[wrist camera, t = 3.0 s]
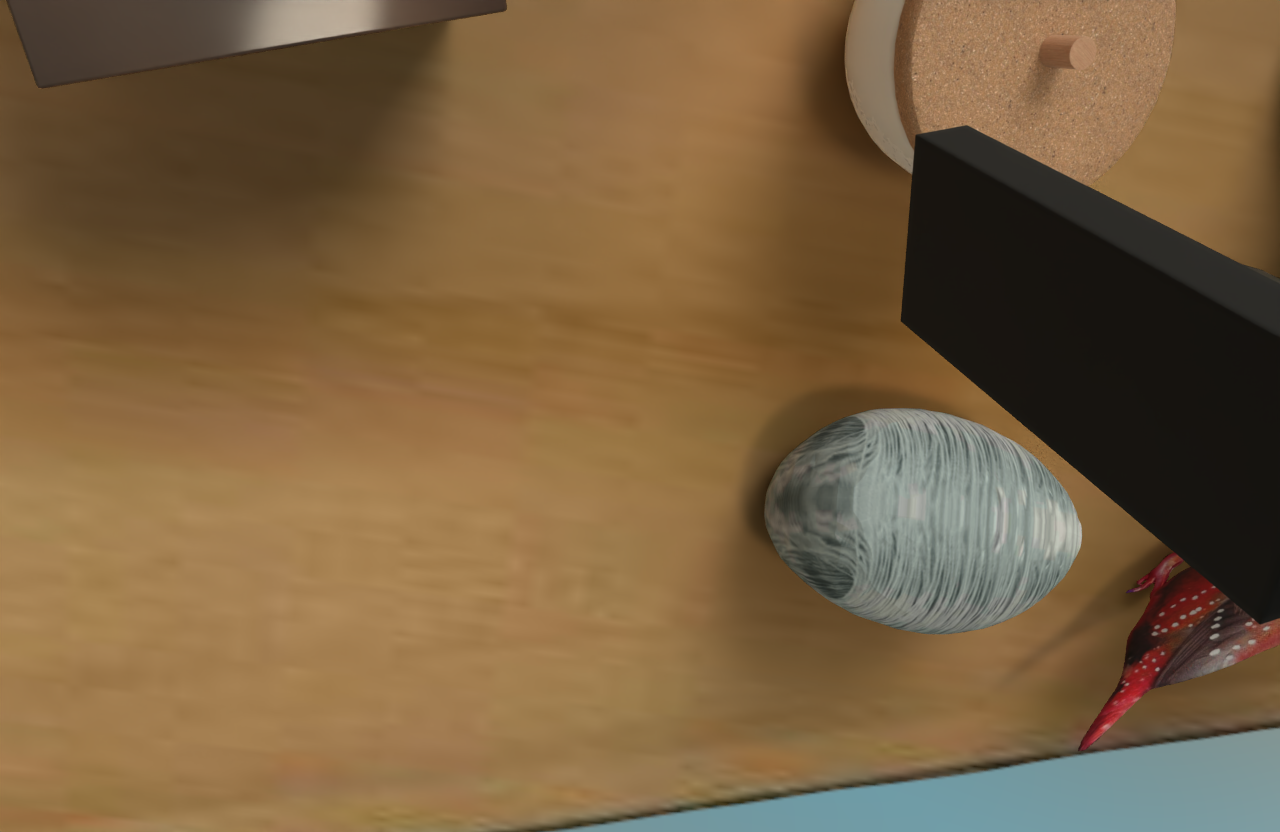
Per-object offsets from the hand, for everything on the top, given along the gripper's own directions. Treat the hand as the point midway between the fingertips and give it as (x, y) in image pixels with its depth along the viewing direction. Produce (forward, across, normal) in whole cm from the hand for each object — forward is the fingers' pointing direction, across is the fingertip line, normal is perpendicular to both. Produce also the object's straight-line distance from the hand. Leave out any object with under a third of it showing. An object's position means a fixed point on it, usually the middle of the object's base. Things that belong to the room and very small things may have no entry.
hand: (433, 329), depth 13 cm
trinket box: (+27, -23, +6) cm, 35 cm away
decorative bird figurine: (+22, -35, +35) cm, 54 cm away
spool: (+23, -20, +24) cm, 39 cm away
